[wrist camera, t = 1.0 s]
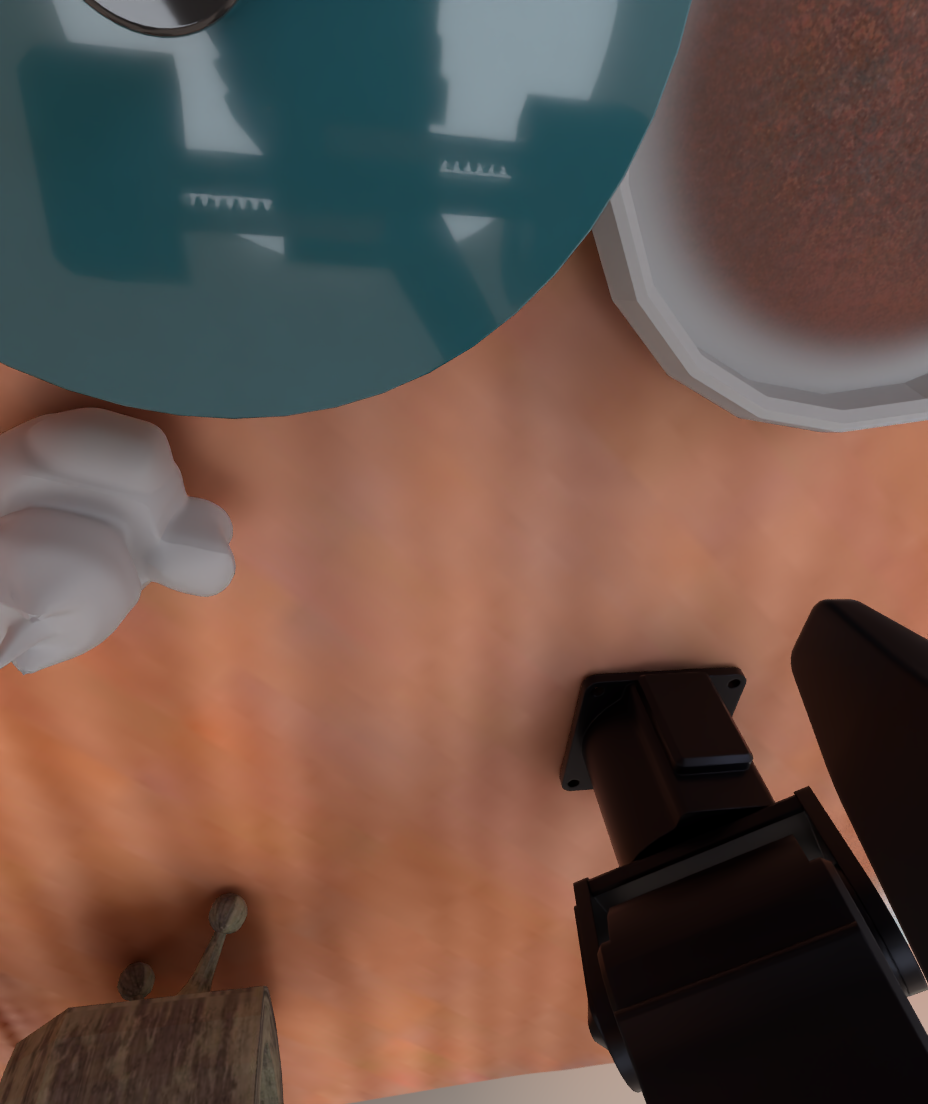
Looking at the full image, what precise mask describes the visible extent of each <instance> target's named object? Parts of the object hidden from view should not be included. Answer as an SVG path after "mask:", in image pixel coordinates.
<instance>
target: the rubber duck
mask: <svg viewBox="0 0 928 1104" xmlns="http://www.w3.org/2000/svg"><path fill="white" fill-rule="evenodd" d="M232 536H233V526H232V522H231V520H230V518H229V516H228V514H227V513H226V512H225V511H224V510H223V509H222V508H221V507H220V506H218V505H217V504H215V503H213V502H211V501H208V500H205V499H202V498H197V497H189V496H188V495H187V494H186V491H185V487H184V483H183V478H182V475H181V472H180V469H179V468H178V466H177V464H176V463H175V462H174V460H173V456H172V452H171V448H170V445H169V442H168V440H167V438H166V435H165V434H164V433H163V431H162V430H161V429H160V428H159V427H158V426H156V425H154V424H152V423H150V422H147V421H144V420H140V419H137V418H134V417H130V416H127V415H123V414H120V413H116V412H113V411H109V410H105V409H101V408H79V409H73V410H69V411H65V412H60V413H52V414H46V415H41V416H38V417H36V418H33V419H31V420H28V421H26V422H24V423H22V424H20V425H18V426H16V427H14V428H12V429H10V430H8V431H6V432H4V433H2V434H1V435H0V669H1V668H3V667H4V666H6V665H7V664H9V663H10V662H12V663H13V664H14V665H15V667H16V668H17V669H18V670H19V671H21V672H22V674H23V675H25V674H28V673H34V672H36V671H39V670H41V669H44V668H46V667H49V666H52V665H55V664H58V663H60V662H63V661H66V660H69V659H72V658H75V657H77V656H79V655H82V654H84V653H85V652H87V651H89V650H91V649H92V648H94V647H96V646H97V645H99V644H100V643H102V642H103V641H104V640H105V639H106V638H107V637H108V636H110V635H111V634H112V633H113V632H114V631H115V630H116V628H117V627H118V626H119V624H120V623H121V622H122V621H123V619H124V618H125V617H126V615H127V614H128V613H129V612H130V611H131V609H132V608H133V607H134V606H135V605H136V603H137V602H138V600H139V598H140V594H141V590H143V589H144V588H145V587H146V586H147V585H148V584H149V583H150V582H156V583H159V584H161V585H164V586H166V587H168V588H170V589H173V590H176V591H179V592H183V593H187V594H191V595H196V596H203V597H209V596H213V595H216V594H218V593H220V592H221V591H223V590H224V589H225V588H226V587H227V586H228V585H229V584H230V582H231V580H232V578H233V576H234V574H235V569H236V565H235V559H234V555H233V553H232V550H231V548H230V546H229V543H230V541H231V539H232Z"/></svg>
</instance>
